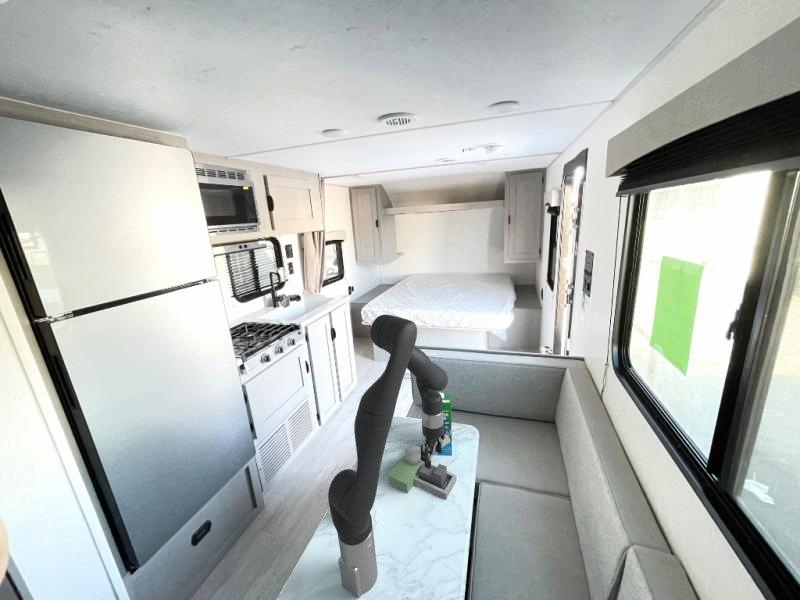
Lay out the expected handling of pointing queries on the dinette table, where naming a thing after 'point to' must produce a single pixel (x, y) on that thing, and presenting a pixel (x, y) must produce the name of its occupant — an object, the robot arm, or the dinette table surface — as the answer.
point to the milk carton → (446, 427)
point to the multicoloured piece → (416, 474)
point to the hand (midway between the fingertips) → (433, 459)
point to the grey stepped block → (434, 475)
